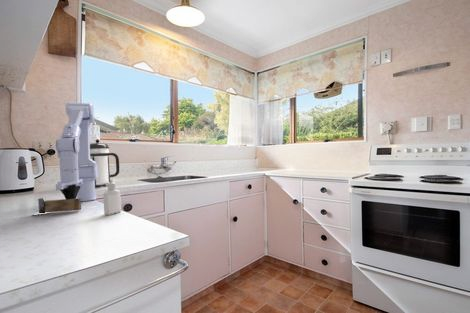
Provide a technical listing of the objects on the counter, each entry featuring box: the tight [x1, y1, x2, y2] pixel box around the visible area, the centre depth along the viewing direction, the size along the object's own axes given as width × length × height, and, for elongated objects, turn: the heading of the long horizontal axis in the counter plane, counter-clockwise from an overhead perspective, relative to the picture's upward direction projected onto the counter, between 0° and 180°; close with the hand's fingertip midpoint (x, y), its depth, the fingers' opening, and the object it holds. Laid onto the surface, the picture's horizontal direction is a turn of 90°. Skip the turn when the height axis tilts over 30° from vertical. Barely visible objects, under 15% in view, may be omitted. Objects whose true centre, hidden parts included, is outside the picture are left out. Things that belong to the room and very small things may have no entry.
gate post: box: [37, 197, 46, 213], centre depth 88 cm, size 5×5×6 cm
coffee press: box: [87, 138, 120, 189], centre depth 155 cm, size 17×16×30 cm
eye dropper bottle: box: [102, 178, 122, 216], centre depth 85 cm, size 4×6×12 cm
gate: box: [44, 198, 82, 213], centre depth 89 cm, size 12×2×4 cm, turn 98°
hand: (71, 205), depth 91 cm, fingers closed
